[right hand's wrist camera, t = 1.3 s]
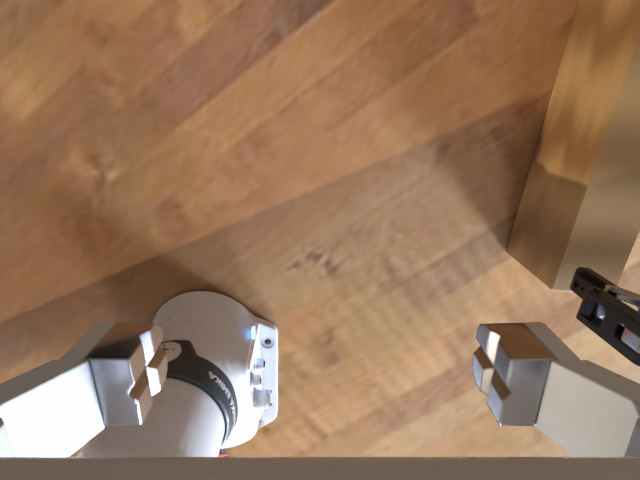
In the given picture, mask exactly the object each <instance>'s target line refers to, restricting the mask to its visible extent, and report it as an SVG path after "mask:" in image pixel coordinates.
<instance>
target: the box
mask: <svg viewBox="0 0 640 480" xmlns="http://www.w3.org/2000/svg"><path fill="white" fill-rule="evenodd" d="M639 230H640V0H579V1H578V5H577V8H576V12H575V15H574V19H573V22H572V25H571V29H570V32H569V36H568V39H567V43H566V46H565V50H564V53H563V57H562V60H561V63H560V67H559V70H558V74H557V77H556V81H555V84H554V88H553V91H552V94H551V98H550V101H549V105H548V108H547V112H546V115H545V119H544V122H543V126H542V129H541V132H540V136H539V139H538V143H537V146H536V150H535V153H534V157H533V160H532V163H531V167H530V170H529V174H528V177H527V181H526V184H525V188H524V191H523V195H522V198H521V201H520V205H519V208H518V212H517V215H516V219H515V222H514V226H513V229H512V232H511V236H510V239H509V243H508V246H507V250H506V252H507V253H508V254H509V255H511V256H512V257H513V258H514V259H515V260H517V261H518V262H519V263H520V264H521V265H523V266H524V267H525V268H526V269H527V270H529V271H530V272H531V273H532V274H533V275H535V276H536V277H537V278H538V279H539V280H541V281H542V282H543V283H544V284H545V285H547V286H548V287H549V288H550V289H551V290H560V291H570V292H573V291H572V290H571V289H570V284H571V281H572V279H573V276H574V273H575V272H576V269H577V268H578V267H585V268H590V269H592V270H593V271H595V272H596V273H598V274H599V275H601V276H603V277H604V278H606V279H607V280H609V281H610V282H612V283H614V284H615V285H617V284H618V282H619V279H620V277H621V274H622V272H623V270H624V267H625V265H626V262H627V260H628V257H629V255H630V252H631V250H632V247H633V245H634V243H635V240H636V238H637V235H638V233H639Z"/></svg>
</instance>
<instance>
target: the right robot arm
mask: <svg viewBox="0 0 640 480" xmlns="http://www.w3.org/2000/svg"><path fill="white" fill-rule="evenodd" d="M266 339H270V340H271V341H266ZM476 339H477V340H478V342H479V344H480V345H481V346H480V347H479V348H478V349H477V350H476V351H475V352H474V354H473V362H472V367H473V376H474V379H475V382H476V385H477V386H478V388H479V390H480V391H481V392H482V393H484V394H485V395H487V396H488V400H487V405H488V407H489V409H490V411H491V412H492V414H493V416H494V418H495V420H496V421H497V423H498V425H510V426H536V427H535V428H536V429H537V430H539V431H540V432H541V433H542V434H544V435H545V436H546V437H547V438H549V439H550V440H551V441H552V442H554V443H555V444H556V445H557V446H559V447H560V448H561V449H563V450H564V451H565V452H566V453H568V454H569V455H570V456H571V457H227V456H226V455H227V453H225V452H226V448H229V447H233V446H237V445H240V444H242V443H244V442H247V441H248V440H250V439H251V438H252V437H253V436H254V435H255V434H256V432H257V428H259V427H262V426H264V425H266V424H268V423H269V422H271V421H272V420H274V419H275V418H276V416H277V412H278V329H277V327H276V326H275V325H274V324H273V323H271V322H269V321H266V320H264V319H261V318H258V317H256V316H255V315H253V314H252V313H251V312H250V311H249V310H247V309H246V308H245V307H244V306H243V305H241V304H240V303H239V302H237V301H235V300H234V299H232V298H230V297H227V296H225V295H222V294H219V293H215V292H209V291H194V292H187V293H184V294H180V295H178V296H176V297H174V298H172V299H170V300H169V301H167V302H166V303H165V304H164V305H163V306H162V307H161V308H160V309H159V310H158V312H157V313H156V315H155V317H154V319H153V322H152V323H123V322H120V323H118V322H101V323H96V324H95V325H94V326H93V327H92V328H91V329H90V330H89V331H88V332H87V333H86V334H85V335H84V336H83V337H82V338H81V339H80V340H79V341H78V342H77V343H76V344H75V345H74V346H73V347H72V348H71V349H70V350H69V351H68V352H67V353H66V354H65V355H64V356H63V357H62V358H61V359H60V360H52V361H50V362H48V363H46V364H43V365H41V366H39V367H37V368H35V369H32V370H30V371H28V372H26V373H24V374H21V375H19V376H17V377H15V378H13V379H10V380H8V381H6V382H4V383H2V384H0V480H640V384H638V383H636V382H634V381H632V380H630V379H627V378H625V377H623V376H621V375H619V374H616V373H614V372H612V371H610V370H608V369H605V368H603V367H601V366H599V365H596V364H594V363H592V362H590V361H588V360H580V359H579V358H578V357H577V356H576V355H575V354H574V353H573V352H572V351H571V350H570V349H569V348H568V347H567V346H566V345H565V344H564V343H563V342H562V341H561V340H560V339H559V338H558V337H557V336H556V335H555V334H554V333H553V332H552V331H551V330H550V329H549V328H548V327H547V326H546V325H545V324H543V323H541V322H527V323H493V324H480V325H479V327H478V329H477V335H476ZM84 444H85V445H84ZM83 445H84V446H83ZM81 446H83V448H82V449H81V450H80V452H79V453H78V455H77V456H76V457H69V456H70V455H71V454H73V453H74V452H75V451H76V450H78V449H79V448H80V447H81Z"/></svg>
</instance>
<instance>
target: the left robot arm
mask: <svg viewBox="0 0 640 480" xmlns="http://www.w3.org/2000/svg"><path fill="white" fill-rule="evenodd" d="M570 289H571V290H572V291H573V292H574V293H576V294H577V295H578V296H579V297H581V298H582V299H583V300H582V303H581V305H580V308H579V311H578V313H577V316H576V318H577V319H578V320H579V321H581V322H582V323H583V324H584V325H586V326H587V327H588V328H589V329H591V330H592V331H593V332H595V333H596V334H597V335H598V336H600V337H601V338H602V339H603V340H605V341H606V342H607V343H608V344H610V345H611V346H612V347H613V348H615V349H616V350H617V351H618V352H620V353H621V354H622V355H624V356H625V357H626V358H627V359H629V360H630V361H631V362H632V363H634V364H636V365H638V366H640V295H639V294H636V293H633V292H631V291H628V290H625V289H622V288H620V287H618V286H617V285H615V284H614V283H612V282H610V281H609V280H607V279H606V278H604V277H603V276H601V275H599V274H598V273H596V272H595V271H593V270H592V269H590V268H585V267H578V268H577V269H576V272H575V273H574V276H573V279H572V281H571V284H570ZM621 300H622V301H625V302H627V303H630V304H633V305H635V306H637V308H638V312H637V311H636V310H634V309H632V308H631V307H629V306H628V305H626V304H625V303H623V302H621Z"/></svg>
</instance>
